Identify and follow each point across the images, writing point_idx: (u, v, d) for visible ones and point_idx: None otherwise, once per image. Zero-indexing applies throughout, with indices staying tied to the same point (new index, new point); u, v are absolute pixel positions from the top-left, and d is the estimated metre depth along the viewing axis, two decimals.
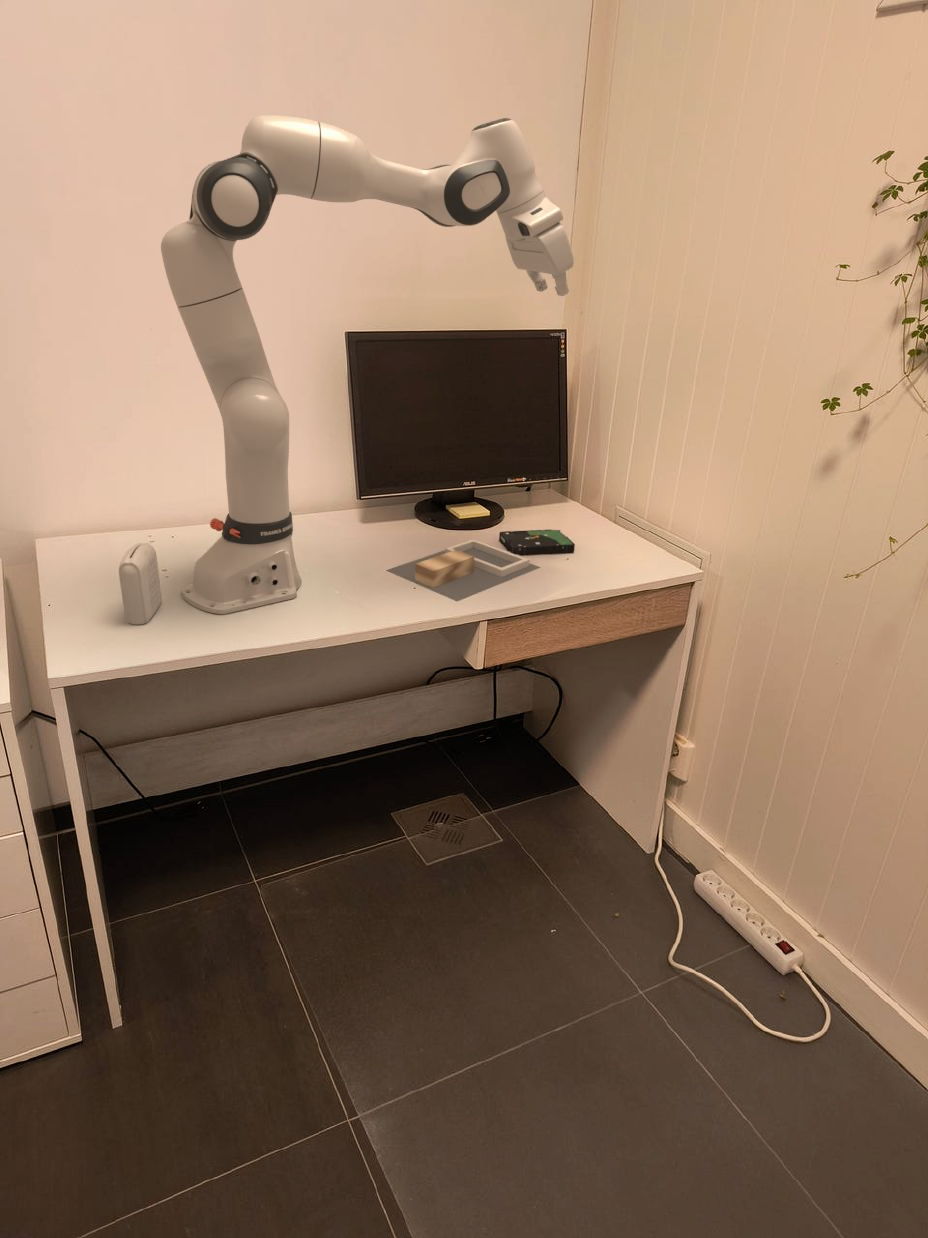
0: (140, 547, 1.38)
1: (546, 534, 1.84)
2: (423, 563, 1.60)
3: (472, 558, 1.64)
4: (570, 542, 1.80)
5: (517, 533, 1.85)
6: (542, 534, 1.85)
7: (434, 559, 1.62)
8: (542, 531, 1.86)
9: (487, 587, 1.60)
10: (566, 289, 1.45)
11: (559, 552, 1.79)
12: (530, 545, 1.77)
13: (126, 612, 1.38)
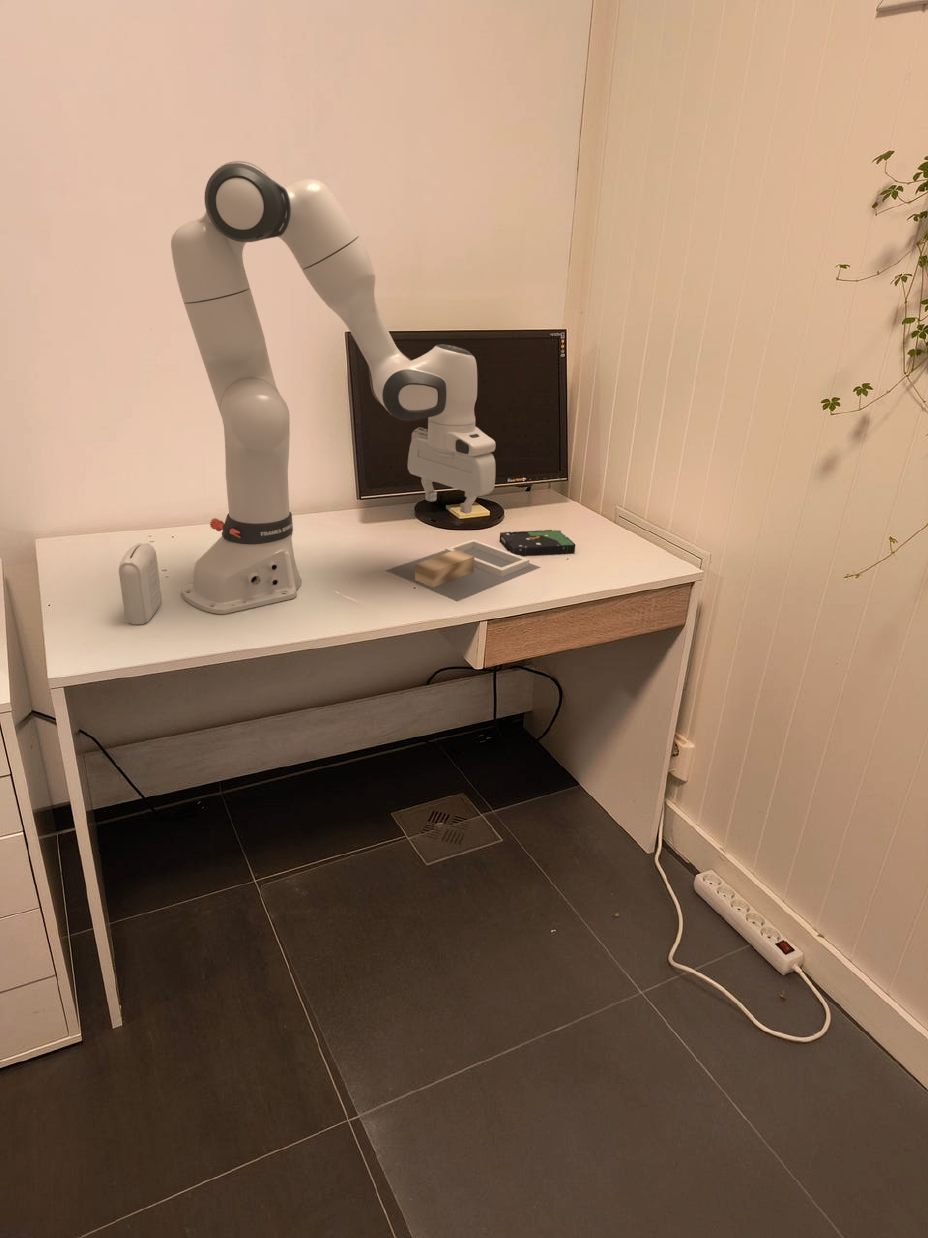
0: (140, 547, 1.38)
1: (546, 534, 1.84)
2: (423, 563, 1.60)
3: (472, 558, 1.64)
4: (571, 543, 1.80)
5: (517, 534, 1.84)
6: (543, 534, 1.84)
7: (434, 559, 1.62)
8: (543, 531, 1.86)
9: (487, 587, 1.60)
10: (470, 509, 1.54)
11: (560, 552, 1.79)
12: (531, 545, 1.77)
13: (126, 612, 1.38)
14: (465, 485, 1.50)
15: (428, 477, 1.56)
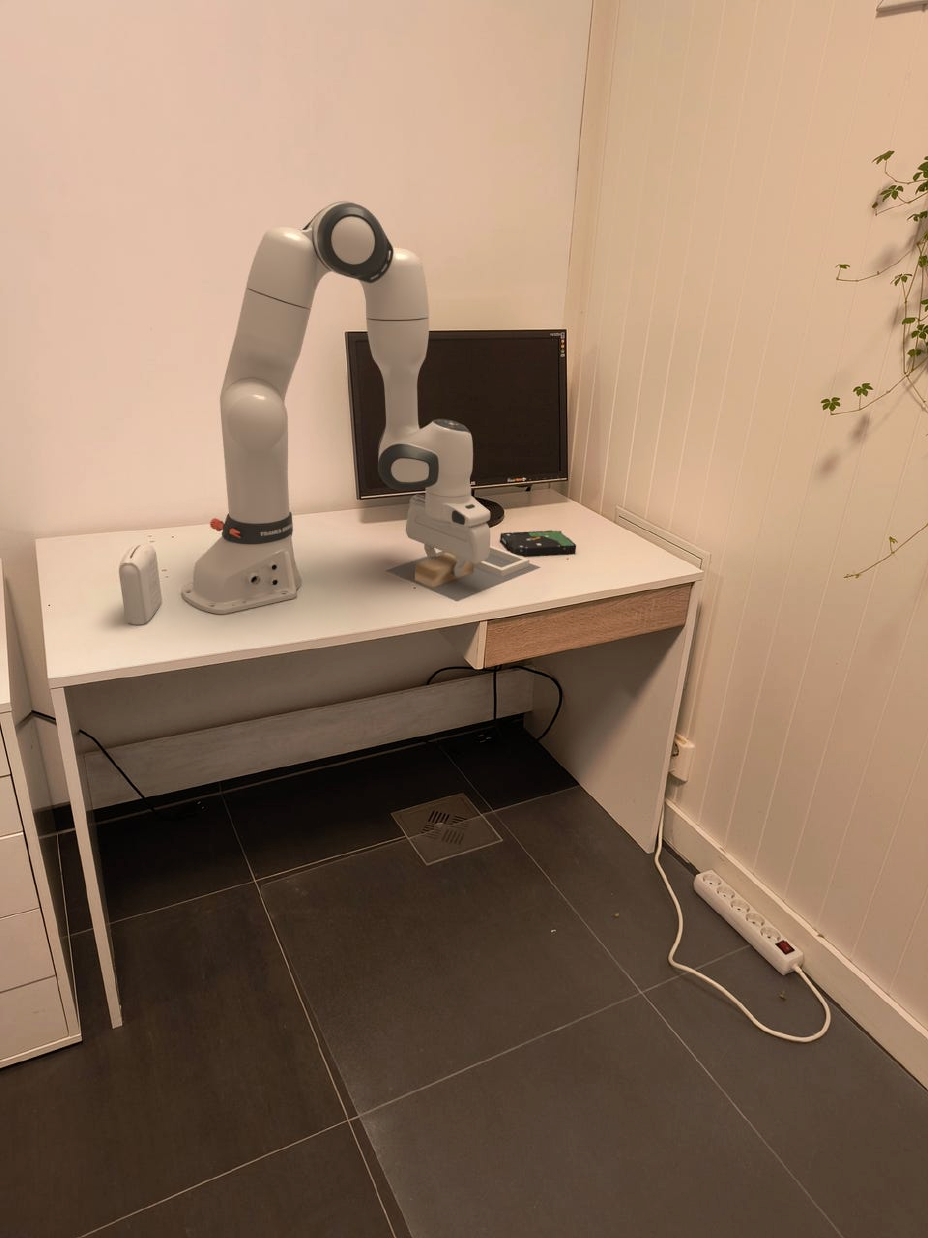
0: (140, 547, 1.38)
1: (547, 535, 1.84)
2: (423, 563, 1.60)
3: None
4: (571, 543, 1.80)
5: (518, 534, 1.84)
6: (543, 535, 1.84)
7: (434, 559, 1.62)
8: (543, 532, 1.86)
9: (487, 587, 1.60)
10: (460, 571, 1.61)
11: (560, 553, 1.79)
12: (531, 546, 1.77)
13: (126, 612, 1.38)
14: (461, 553, 1.56)
15: (425, 542, 1.62)
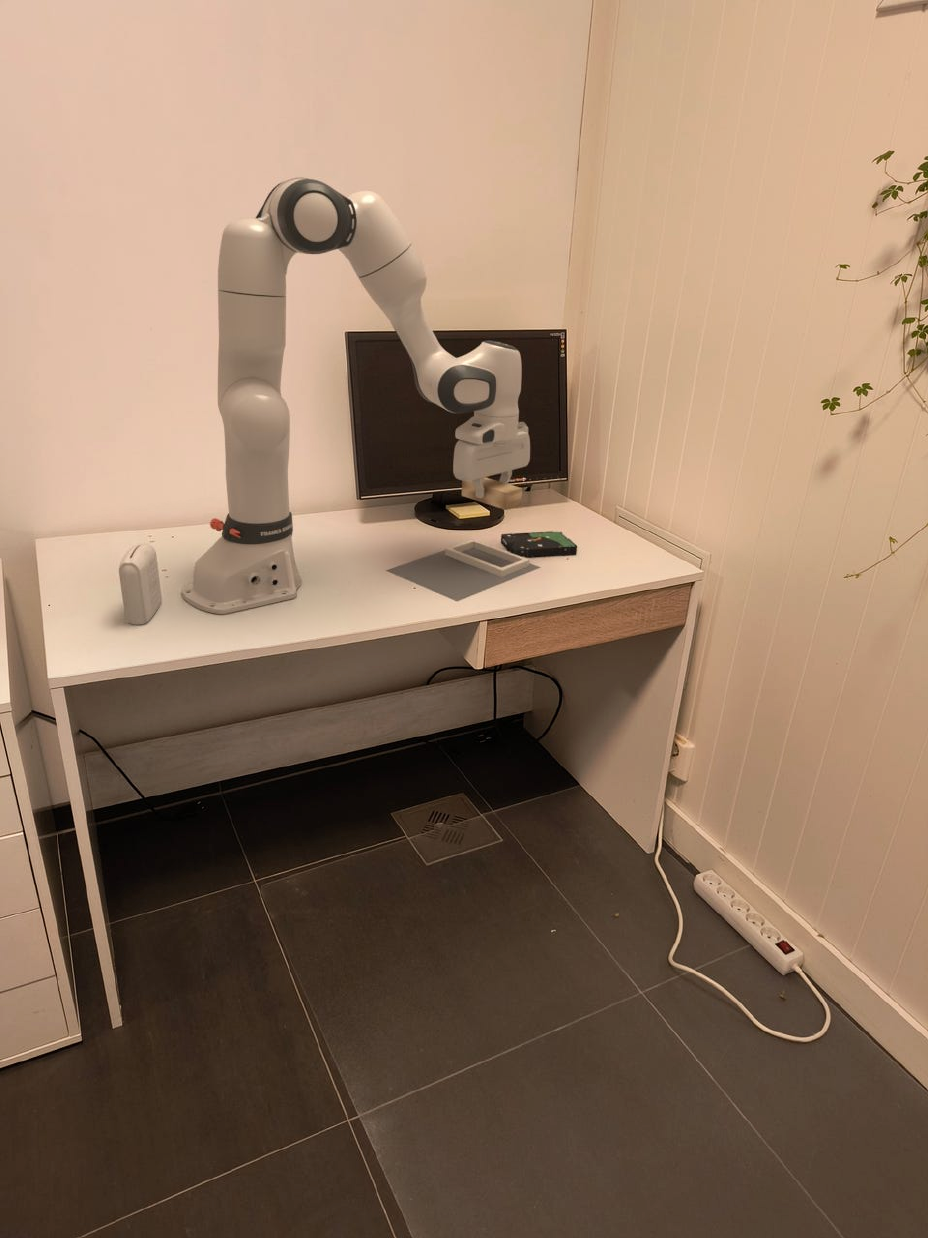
0: (140, 547, 1.38)
1: (548, 536, 1.83)
2: None
3: (504, 493, 1.60)
4: (572, 544, 1.79)
5: (519, 535, 1.84)
6: (544, 536, 1.83)
7: (492, 480, 1.67)
8: (544, 533, 1.85)
9: (487, 587, 1.60)
10: (480, 494, 1.63)
11: (562, 554, 1.78)
12: (533, 547, 1.76)
13: (126, 612, 1.38)
14: None
15: None
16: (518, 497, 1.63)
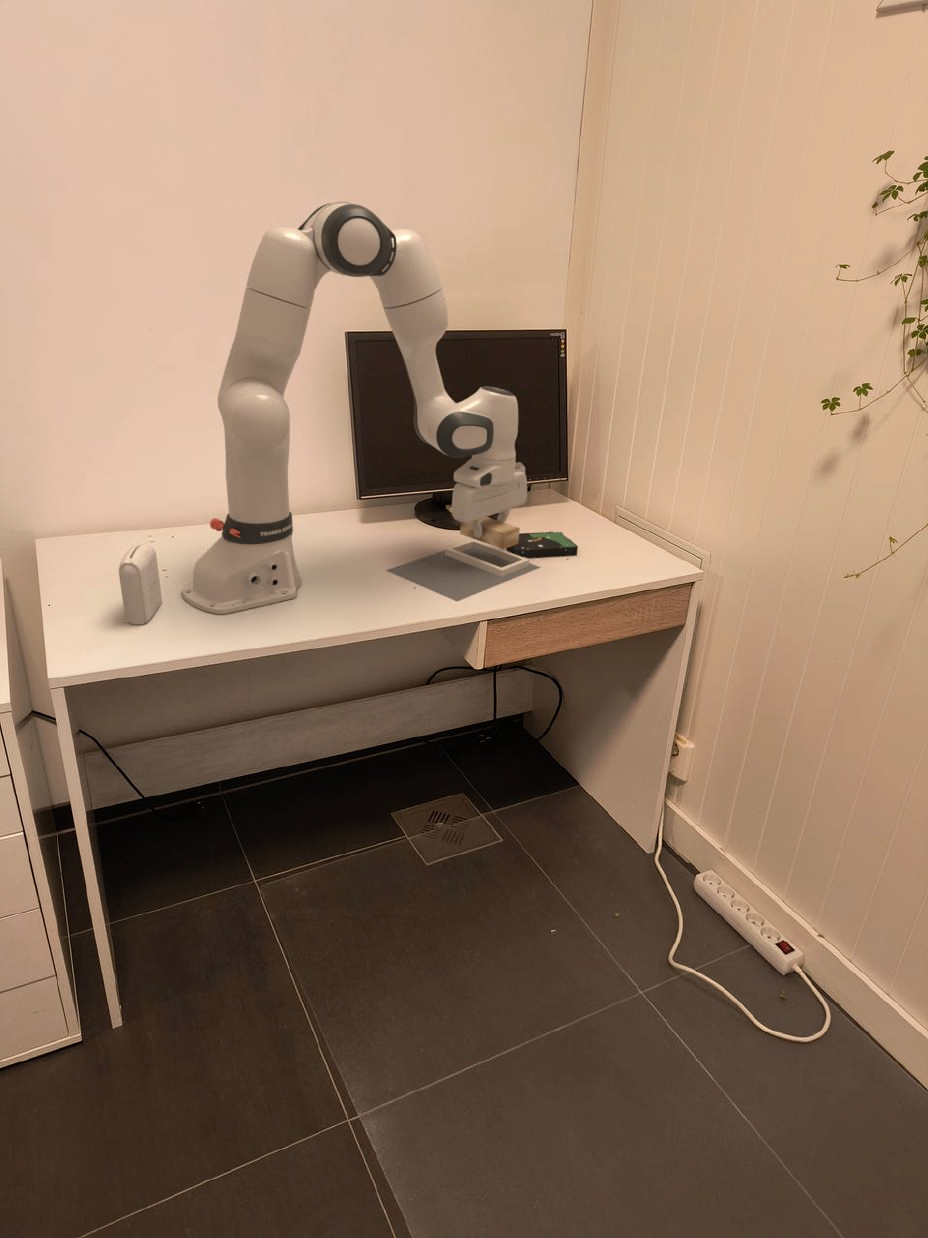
0: (140, 547, 1.38)
1: (548, 536, 1.83)
2: None
3: (501, 533, 1.64)
4: (573, 545, 1.79)
5: (519, 536, 1.83)
6: (544, 536, 1.83)
7: (489, 519, 1.71)
8: (544, 533, 1.85)
9: (487, 587, 1.60)
10: (478, 534, 1.66)
11: (562, 554, 1.78)
12: (533, 548, 1.76)
13: (126, 612, 1.38)
14: None
15: None
16: (515, 536, 1.67)
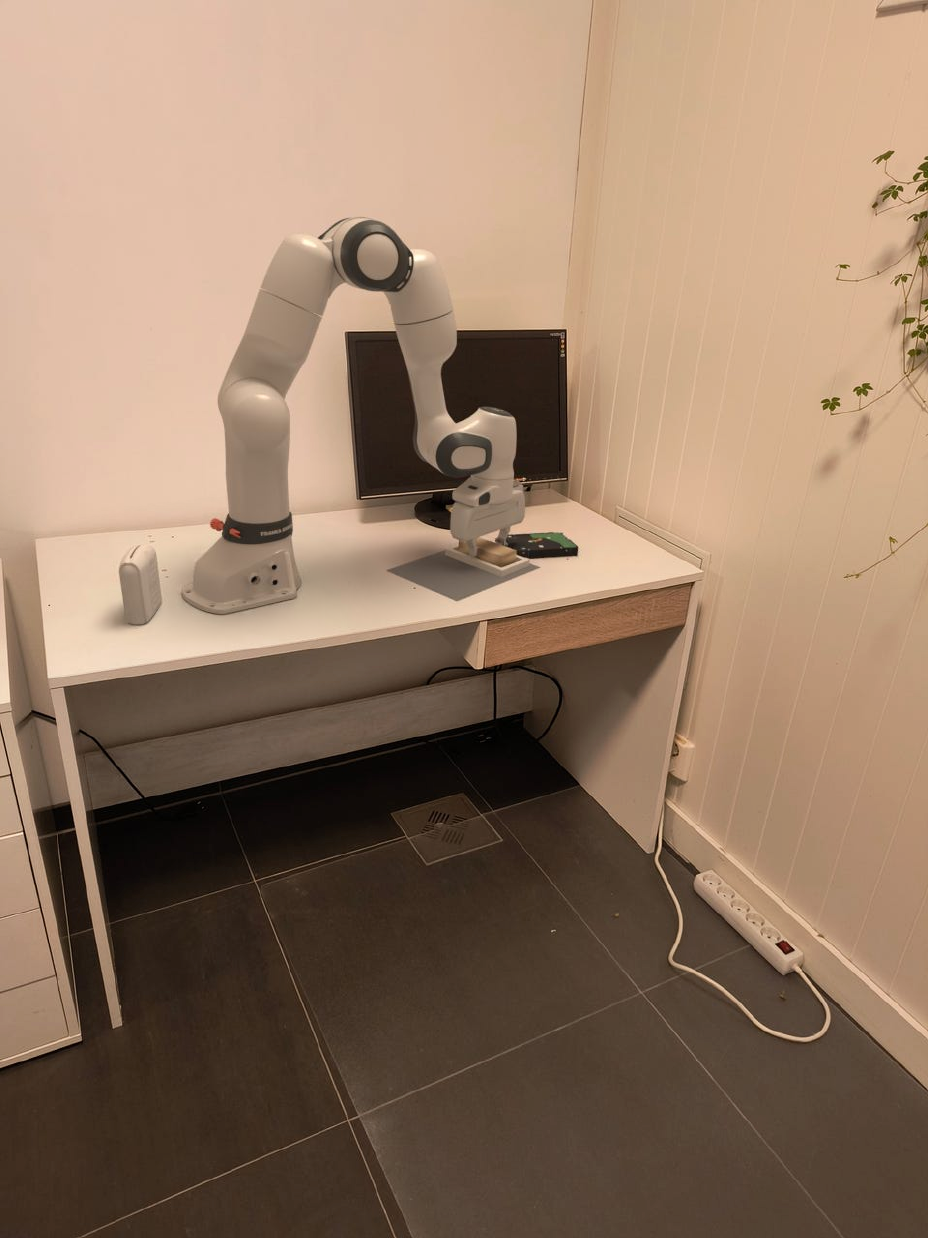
0: (140, 547, 1.38)
1: (549, 537, 1.83)
2: None
3: (499, 556, 1.66)
4: (574, 545, 1.79)
5: (520, 536, 1.83)
6: (545, 536, 1.83)
7: (487, 541, 1.73)
8: (545, 533, 1.85)
9: (487, 587, 1.60)
10: (473, 553, 1.67)
11: (563, 555, 1.78)
12: (534, 548, 1.76)
13: (126, 612, 1.38)
14: None
15: None
16: (512, 558, 1.69)
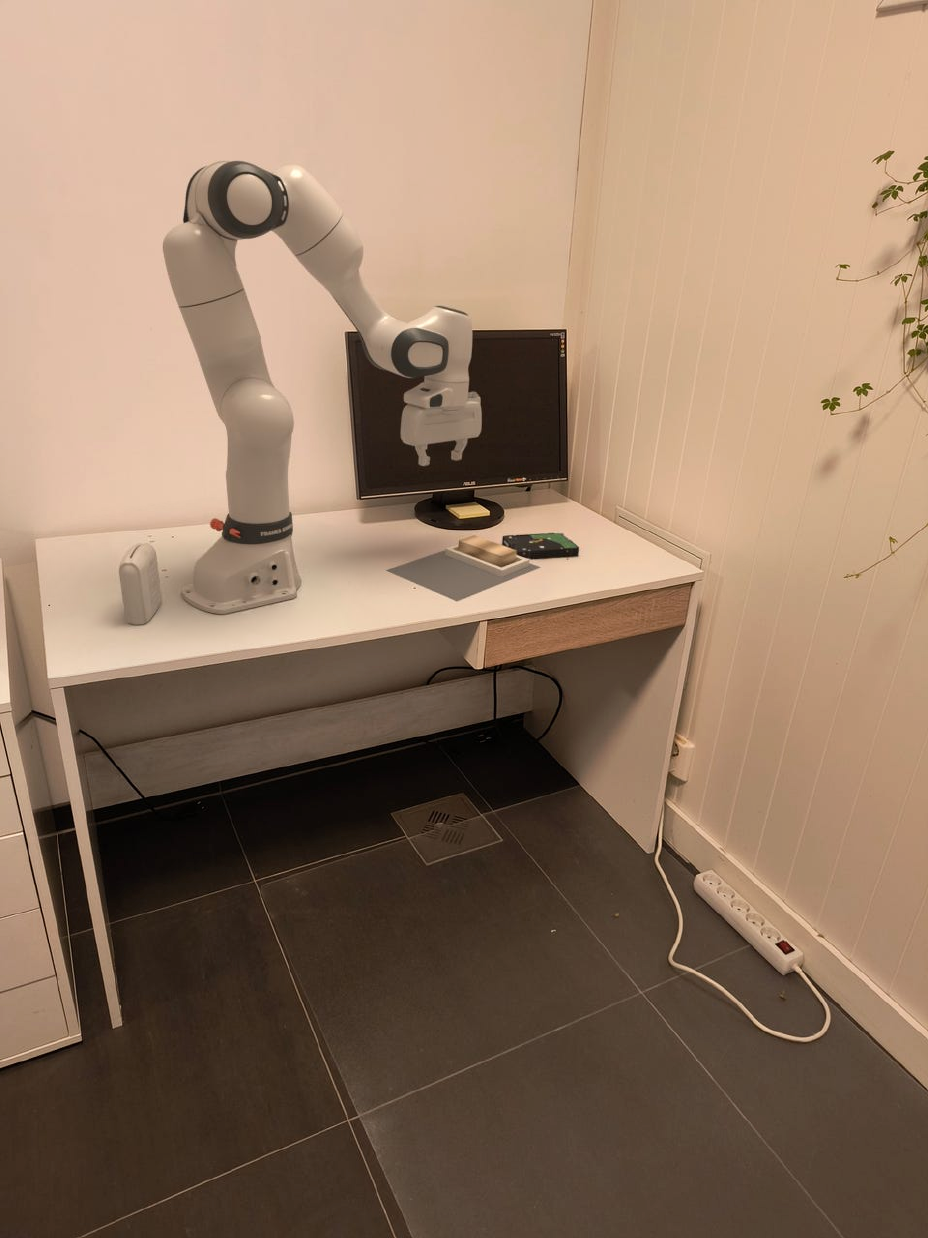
0: (140, 547, 1.38)
1: (549, 537, 1.82)
2: (476, 537, 1.75)
3: (499, 556, 1.66)
4: (574, 546, 1.78)
5: (520, 537, 1.83)
6: (546, 537, 1.83)
7: (487, 541, 1.73)
8: (545, 534, 1.84)
9: (487, 587, 1.60)
10: (423, 462, 1.61)
11: (563, 556, 1.77)
12: (534, 549, 1.75)
13: (126, 612, 1.38)
14: None
15: None
16: (512, 558, 1.69)
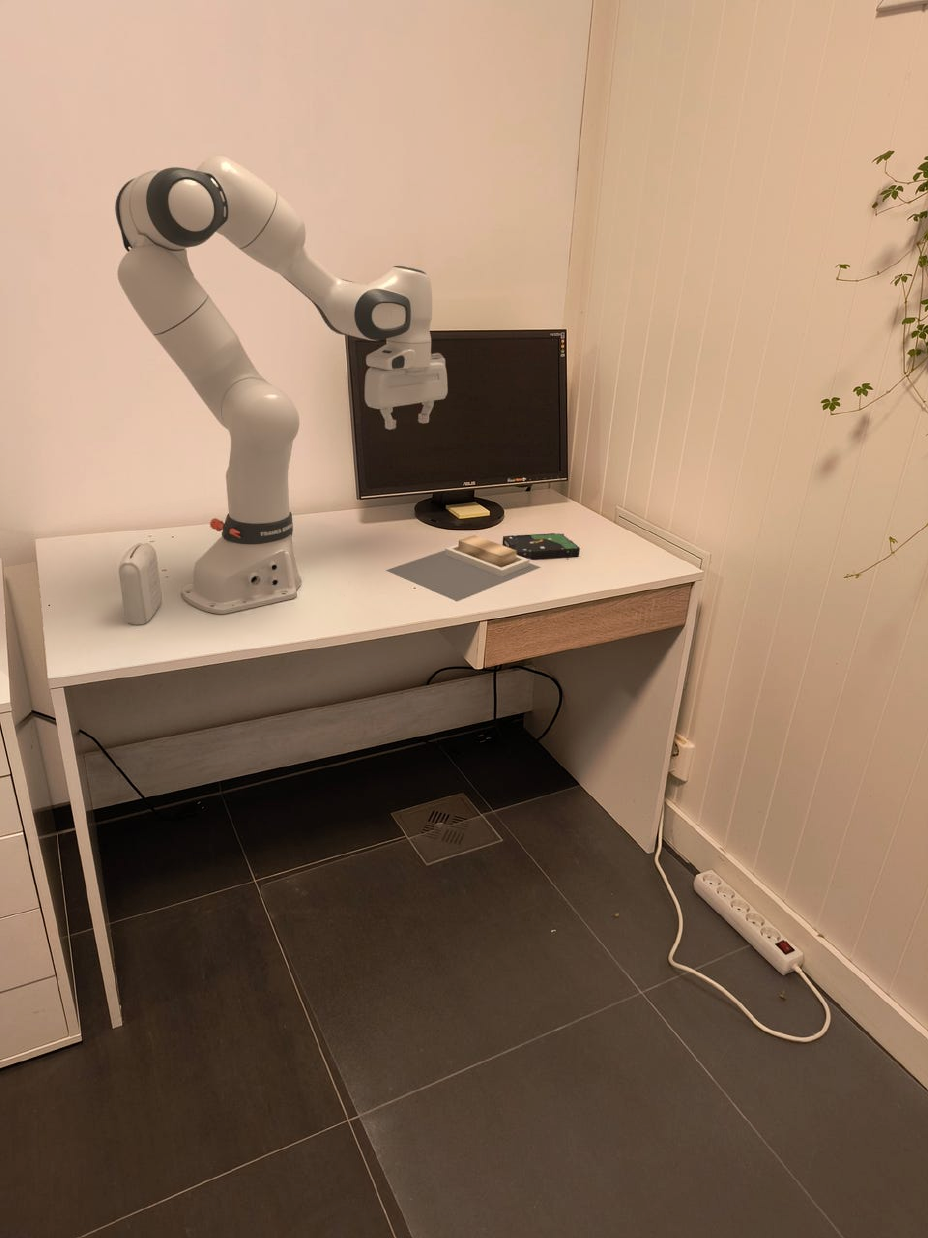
0: (140, 547, 1.38)
1: (550, 538, 1.82)
2: (476, 537, 1.75)
3: (499, 556, 1.66)
4: (575, 546, 1.78)
5: (521, 537, 1.82)
6: (546, 537, 1.82)
7: (487, 541, 1.73)
8: (546, 534, 1.84)
9: (487, 587, 1.60)
10: (389, 425, 1.61)
11: (564, 556, 1.77)
12: (535, 549, 1.75)
13: (126, 612, 1.38)
14: None
15: None
16: (512, 558, 1.69)
